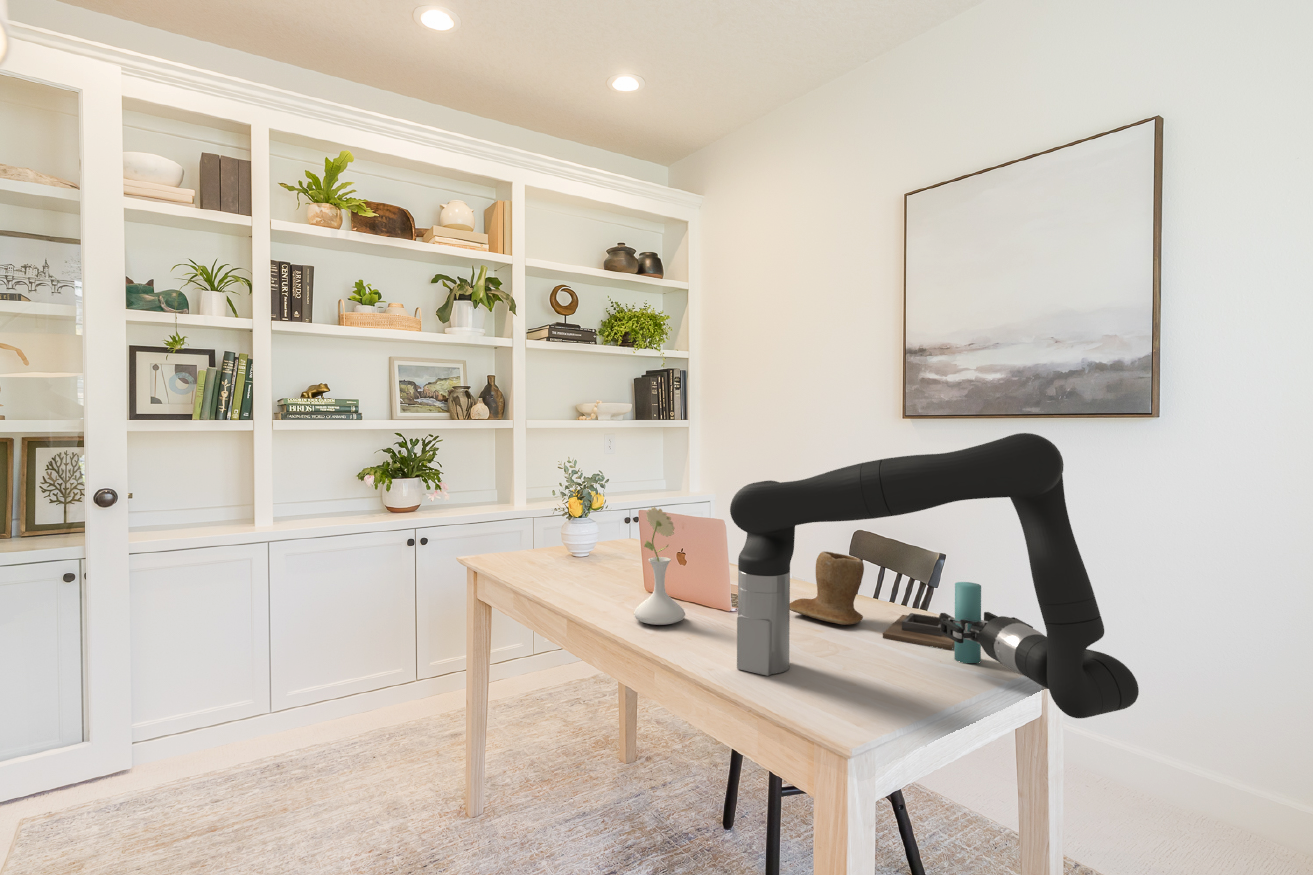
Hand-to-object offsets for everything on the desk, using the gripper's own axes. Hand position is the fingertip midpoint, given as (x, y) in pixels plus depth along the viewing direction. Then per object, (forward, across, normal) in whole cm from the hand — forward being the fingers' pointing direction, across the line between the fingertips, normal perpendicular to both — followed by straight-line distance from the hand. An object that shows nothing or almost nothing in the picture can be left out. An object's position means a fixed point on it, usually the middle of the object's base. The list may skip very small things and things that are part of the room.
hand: (963, 617), depth 124 cm
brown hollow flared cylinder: (+26, +16, +8) cm, 32 cm away
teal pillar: (-1, 0, +8) cm, 8 cm away
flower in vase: (+28, +55, +8) cm, 62 cm away
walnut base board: (+14, 0, +8) cm, 16 cm away
